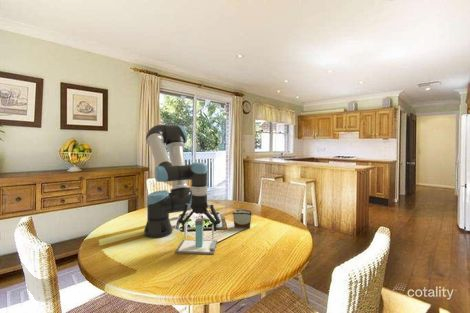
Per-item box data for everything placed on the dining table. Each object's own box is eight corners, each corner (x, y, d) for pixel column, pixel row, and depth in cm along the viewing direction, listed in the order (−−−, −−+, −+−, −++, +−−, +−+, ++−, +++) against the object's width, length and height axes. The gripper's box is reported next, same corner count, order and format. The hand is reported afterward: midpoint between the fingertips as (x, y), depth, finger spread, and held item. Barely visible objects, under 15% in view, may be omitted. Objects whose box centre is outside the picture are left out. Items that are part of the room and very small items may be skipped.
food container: (252, 225, 149) (252, 209, 149) (252, 228, 143) (252, 212, 143) (233, 224, 150) (233, 208, 150) (231, 227, 144) (232, 211, 144)
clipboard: (175, 253, 111) (175, 250, 111) (183, 240, 125) (183, 237, 125) (213, 254, 110) (213, 251, 110) (217, 241, 124) (217, 238, 124)
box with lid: (195, 247, 116) (195, 221, 115) (196, 244, 119) (196, 218, 118) (202, 247, 116) (202, 221, 115) (203, 244, 119) (203, 218, 118)
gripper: (171, 195, 113) (172, 239, 114) (224, 196, 111) (223, 240, 113) (176, 192, 120) (176, 233, 122) (225, 193, 119) (225, 234, 120)
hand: (199, 237), depth 117 cm, fingers open, 13 cm apart
